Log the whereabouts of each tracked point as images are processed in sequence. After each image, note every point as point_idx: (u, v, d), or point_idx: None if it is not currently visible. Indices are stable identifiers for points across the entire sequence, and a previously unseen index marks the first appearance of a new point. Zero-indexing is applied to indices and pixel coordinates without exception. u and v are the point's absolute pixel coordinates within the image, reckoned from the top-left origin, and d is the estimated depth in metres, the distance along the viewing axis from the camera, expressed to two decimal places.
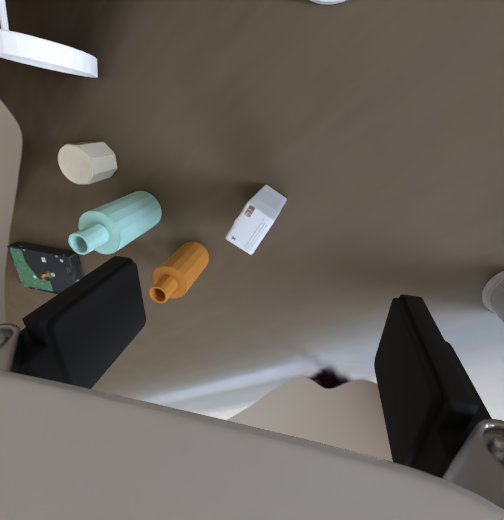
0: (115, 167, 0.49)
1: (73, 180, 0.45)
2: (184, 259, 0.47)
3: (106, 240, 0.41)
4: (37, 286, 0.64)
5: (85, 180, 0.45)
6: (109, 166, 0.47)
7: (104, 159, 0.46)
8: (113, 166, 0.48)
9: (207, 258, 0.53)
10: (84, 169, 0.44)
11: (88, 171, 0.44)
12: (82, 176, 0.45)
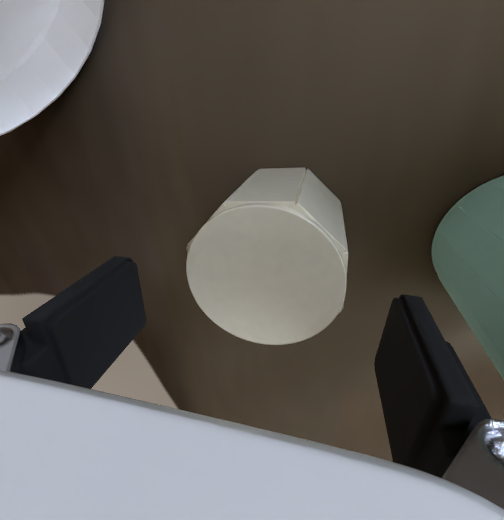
0: (338, 202, 0.14)
1: (291, 336, 0.11)
2: None
3: None
4: None
5: (333, 305, 0.10)
6: (334, 205, 0.12)
7: (313, 191, 0.12)
8: (335, 201, 0.13)
9: None
10: (303, 268, 0.10)
11: (323, 262, 0.09)
12: (312, 299, 0.10)
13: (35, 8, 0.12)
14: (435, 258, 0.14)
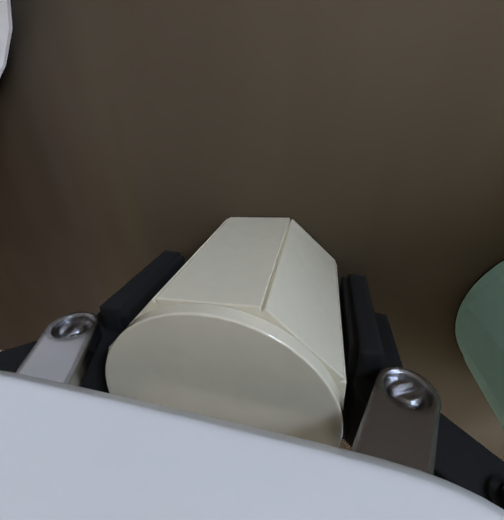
0: (333, 264, 0.10)
1: None
2: None
3: None
4: None
5: None
6: (326, 276, 0.09)
7: (296, 263, 0.08)
8: (329, 264, 0.10)
9: None
10: (276, 402, 0.06)
11: (306, 398, 0.06)
12: None
13: None
14: (462, 340, 0.10)
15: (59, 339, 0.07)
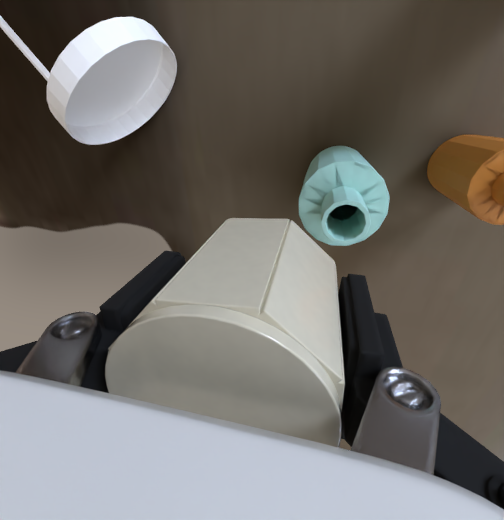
0: (332, 265, 0.10)
1: None
2: (485, 143, 0.23)
3: (363, 202, 0.21)
4: None
5: None
6: (325, 277, 0.09)
7: (295, 264, 0.08)
8: (328, 266, 0.10)
9: None
10: (275, 403, 0.06)
11: (305, 399, 0.06)
12: None
13: (145, 86, 0.32)
14: None
15: (59, 339, 0.07)
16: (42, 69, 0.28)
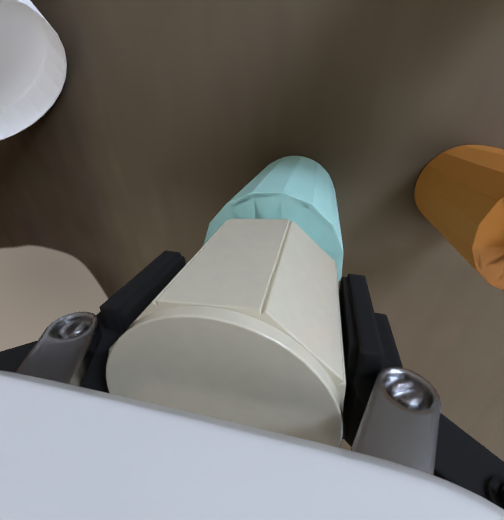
0: (332, 265, 0.10)
1: None
2: (501, 162, 0.14)
3: None
4: None
5: None
6: (326, 278, 0.09)
7: (296, 265, 0.08)
8: (329, 266, 0.10)
9: None
10: (276, 404, 0.06)
11: (306, 400, 0.06)
12: None
13: (31, 69, 0.23)
14: None
15: (59, 339, 0.07)
16: None
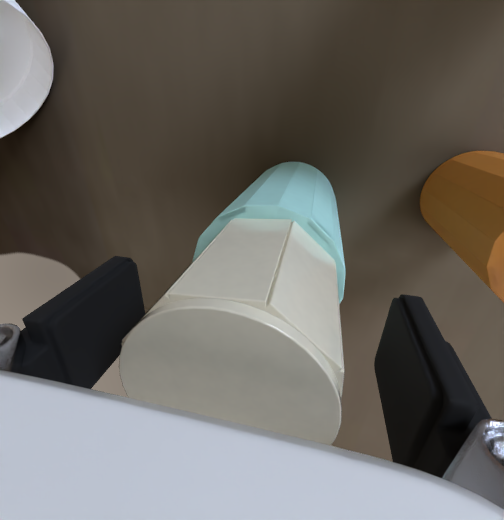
0: (332, 263, 0.11)
1: None
2: None
3: None
4: None
5: (323, 438, 0.07)
6: (326, 275, 0.10)
7: (298, 262, 0.09)
8: (329, 264, 0.11)
9: None
10: (279, 390, 0.07)
11: (307, 386, 0.06)
12: (293, 427, 0.07)
13: (16, 70, 0.22)
14: None
15: None
16: None
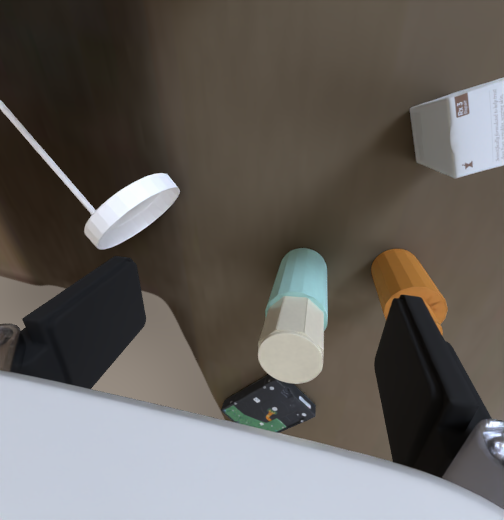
0: (322, 314, 0.30)
1: (300, 380, 0.27)
2: (400, 272, 0.32)
3: None
4: None
5: (318, 369, 0.26)
6: (319, 320, 0.28)
7: (310, 317, 0.27)
8: (321, 315, 0.29)
9: (414, 256, 0.37)
10: (306, 355, 0.25)
11: (313, 353, 0.25)
12: (309, 366, 0.26)
13: (154, 197, 0.41)
14: None
15: None
16: (78, 194, 0.37)
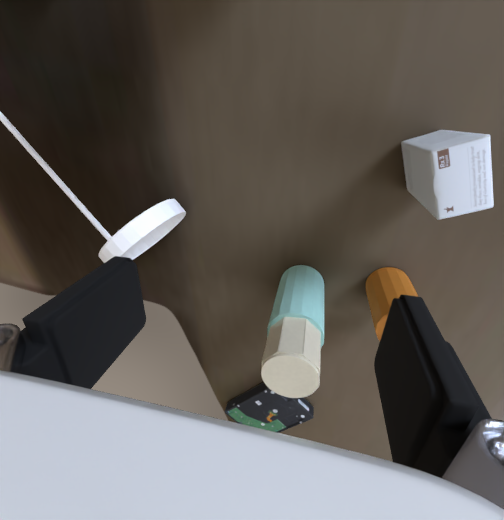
0: (319, 333, 0.32)
1: (299, 395, 0.30)
2: (391, 293, 0.35)
3: None
4: None
5: (315, 386, 0.28)
6: (316, 340, 0.31)
7: (308, 338, 0.30)
8: (318, 334, 0.32)
9: (405, 275, 0.39)
10: (304, 374, 0.28)
11: (311, 373, 0.28)
12: (307, 383, 0.29)
13: None
14: None
15: None
16: (90, 217, 0.39)
